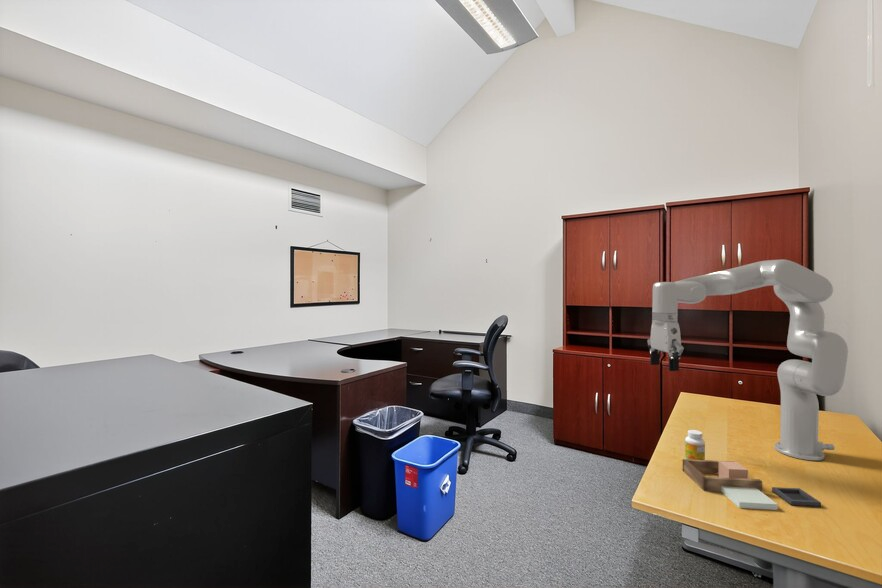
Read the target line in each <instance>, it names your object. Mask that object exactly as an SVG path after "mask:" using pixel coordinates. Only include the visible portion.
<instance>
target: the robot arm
mask: <svg viewBox="0 0 882 588" xmlns="http://www.w3.org/2000/svg"><path fill="white" fill-rule="evenodd" d="M769 286H773V292H774V294H775V296H777V298H778V299H780V300H781V301H782V302H783V303H784V304H785V305H786V307H787V309H788V310H789V315H790V316H789V325H788V334H787V338H786V339H787V340H786V346H787V349H788V351H789V352H790V353H791V354H794V355H796V356H799V357H803V358H808V359H811V362H810V361H805V360H803V359H802V360H801V359H787V360H785V361H783V362H781V363H780V364H779V365H778V368H777V371H776V372H777V373H776V374H777V380H778V385H779V390H780V425H779V427H780V430H779V431H780V434H779V435H780V437H779V438H780V441H778V442H775V443H774V450H775V451H776V452H779V453H781V454H783V455H785V456H788V457H791V458H796V459H801V460H805V461H822V460H824V459H825V454H824V452H823V451H825V450H827V451H835V445H834V444H833V443H824V442H823V441H819V421H820V420H819V418H820V417H819V416H820V415H819V413H820V412H819V411H820V407H819V405H820V404H819V399H818V396H822V397H823V396H824V397H832V396H834V395H836V394H838V393H839V392H840V391H841V390H842V388H843V386H844V383H845V377H846V376H845V375H846V370H847V369H846V368H847V362H848V357H849V347H848V345H847V344H848V343H847V341H846V340H845V339H844V338H843V337H842V336H841V335H840V334H838V333H836V332H833V331H827V330H825V318H826V317H825V312H824V308H823V307H822V305H821V303H823V302H825V301H827V300H829V299H830V298H831V297H832V294H833V292H834V286H833V284H832V283H831V280H829V279H828V278H827V277H825V276H823V275H821V274H820V273H817V272H815V271H813V270H811V269H809V268H807V267H806V266H803V265H802V264H799V263H797V262H795V261H792V260H788V259H769V260H768V259H767V260H761V261H756V262H752V263H748V264H744V265H741V266H737V267H732V268H729V269H724V270H718V271H714V272H710V273H707V274H703V275H698V276H693V277H688V278H684V279H681V280H677V281H674V282H673V281H657V282H655V283H653V284H652V308H651V309H652V311H651V315H652V317H651V327H650V337H649V338H648V339H647V346H648V350H649V353H650V354H649V355H650V357H649V358H650V360H649V361H650V362H649V364H650V365H651V366H657V365H659V366H660V364H661V363H660V362H661V361H660V360H661V354H660V352H663V353H667V355H668V356H669V358H668V371H669V372H678V371H679V370H680V369H679V368H680V359H681V357H682V356H683V352H684V349H685V347H684V346H683V345H682V338H681V330H680V324H679V322H678V315H679V313H678V309H679V308H678V305H679V303H680V304H681V303H682V304H691V305H694V304H699V303H701V302H702V301H704V300H705V299H706V297H707V296H726V295H734V294H739V293H742V292H743V293H744V292H745V291H750V290H754V289H759V288H763V287H769ZM817 395H818V396H817Z"/></svg>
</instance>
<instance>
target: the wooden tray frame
mask: <svg viewBox="0 0 882 588" xmlns="http://www.w3.org/2000/svg"><path fill="white" fill-rule="evenodd" d="M719 461H720V460H709V459H708V460H707V459H705V460H687V459H685V458H683V459H682V471H683V472H684V473H685V474H686V475H687V476H688V477H689V479H691V480H692V481H693V482H694V484H696V485H697V487H699V488H700V489H701V490H702V491H704V492H721V486H725V487H746V488H757V489H758V490H760V491H761V492H762V493H763V481H762V480H761V478H760V479H759V478H748V479H742V478H720V477H719V476H718V477H717V476H714V477H713V476H706V475H705V474H719ZM724 461H725V462H736V461H734V460H733V461H731V460H724ZM721 493H722V492H721Z"/></svg>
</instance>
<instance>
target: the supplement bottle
mask: <svg viewBox="0 0 882 588" xmlns="http://www.w3.org/2000/svg"><path fill="white" fill-rule="evenodd" d="M684 440H685V441H684V442H685V443H684V446H685V447H684V451H685V452H684V459H687V460H706V457H705V456H706V442H705V440H704V439H703V432H702V431H700V430H696V429H689V430H687V436H685V439H684Z"/></svg>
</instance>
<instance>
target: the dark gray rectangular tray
mask: <svg viewBox="0 0 882 588" xmlns="http://www.w3.org/2000/svg"><path fill="white" fill-rule="evenodd" d="M771 492H772V493H774V494H775V495H776V496H778V497H779V498H780V499H782V500H783V501H784V502H786V503H787V504H789V505H790V506H794V507H813V508H822V502H821V501H819V500H818V499H817V498H815V497H813V496H812V495H810V494H809V493H808V492H806V491H804V490H803V489H801V488H800V487H799V488H796V487H775V486H774V487H773V486H771Z"/></svg>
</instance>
